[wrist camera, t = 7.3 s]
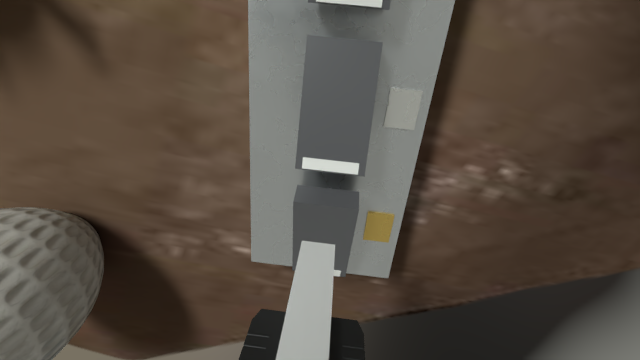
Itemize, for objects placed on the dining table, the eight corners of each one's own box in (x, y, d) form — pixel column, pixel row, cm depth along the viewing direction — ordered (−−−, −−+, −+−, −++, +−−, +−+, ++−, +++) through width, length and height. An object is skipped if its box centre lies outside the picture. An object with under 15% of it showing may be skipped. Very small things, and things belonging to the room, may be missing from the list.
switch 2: (297, 184, 25) (292, 202, 24) (359, 191, 25) (359, 210, 24) (295, 253, 31) (292, 271, 30) (345, 259, 31) (345, 277, 29)
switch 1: (309, 41, 23) (306, 34, 21) (379, 48, 22) (383, 41, 20) (298, 164, 24) (294, 168, 22) (362, 171, 24) (364, 176, 22)
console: (266, -171, 22) (241, -232, 17) (471, -156, 21) (510, -214, 16) (263, 232, 37) (249, 265, 32) (383, 247, 36) (388, 283, 31)
